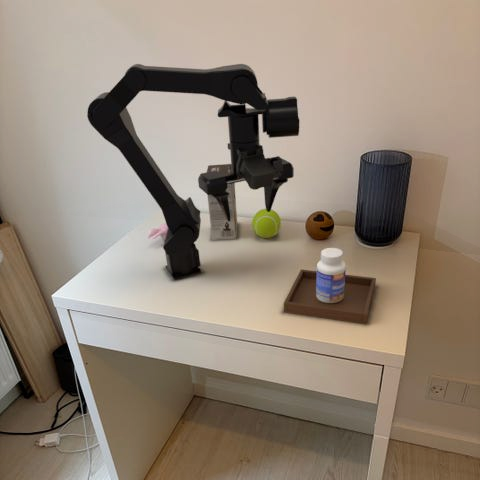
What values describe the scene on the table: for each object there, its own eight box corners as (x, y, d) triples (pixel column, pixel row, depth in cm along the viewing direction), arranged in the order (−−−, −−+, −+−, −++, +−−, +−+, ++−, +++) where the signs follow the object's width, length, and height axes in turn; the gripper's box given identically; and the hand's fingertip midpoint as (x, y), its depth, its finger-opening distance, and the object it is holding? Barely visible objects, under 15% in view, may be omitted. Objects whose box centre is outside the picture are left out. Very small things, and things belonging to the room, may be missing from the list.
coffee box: (213, 225, 128) (207, 164, 119) (237, 224, 128) (233, 163, 119) (211, 240, 121) (205, 176, 111) (237, 239, 120) (232, 175, 111)
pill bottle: (335, 307, 92) (338, 261, 87) (310, 299, 95) (311, 254, 89) (348, 294, 96) (352, 249, 90) (324, 286, 98) (326, 243, 93)
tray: (283, 312, 93) (283, 302, 92) (300, 277, 103) (300, 269, 102) (365, 324, 88) (366, 314, 87) (375, 286, 98) (376, 277, 97)
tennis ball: (253, 230, 124) (252, 204, 120) (281, 230, 123) (280, 203, 119) (252, 242, 118) (250, 215, 114) (280, 242, 117) (280, 215, 113)
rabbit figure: (177, 228, 131) (141, 242, 119) (176, 206, 128) (139, 218, 117) (196, 232, 128) (161, 247, 117) (196, 209, 126) (160, 222, 114)
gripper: (214, 158, 84) (222, 241, 92) (308, 140, 89) (307, 219, 98) (193, 144, 92) (201, 220, 101) (280, 128, 98) (281, 202, 107)
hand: (248, 216), depth 101 cm, fingers open, 9 cm apart
